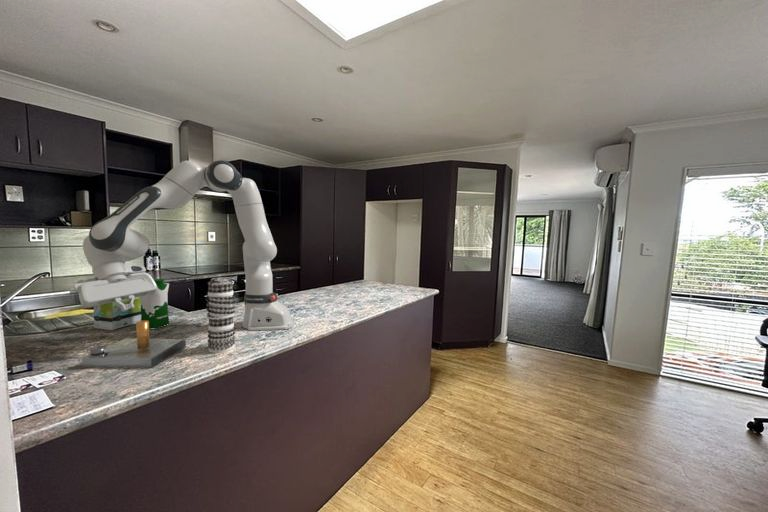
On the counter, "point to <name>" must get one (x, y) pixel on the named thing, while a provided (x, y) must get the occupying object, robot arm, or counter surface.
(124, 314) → the tea box
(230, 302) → the decorative candle
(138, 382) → the counter surface
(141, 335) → the lever
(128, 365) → the grey lever board
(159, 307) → the milk carton
